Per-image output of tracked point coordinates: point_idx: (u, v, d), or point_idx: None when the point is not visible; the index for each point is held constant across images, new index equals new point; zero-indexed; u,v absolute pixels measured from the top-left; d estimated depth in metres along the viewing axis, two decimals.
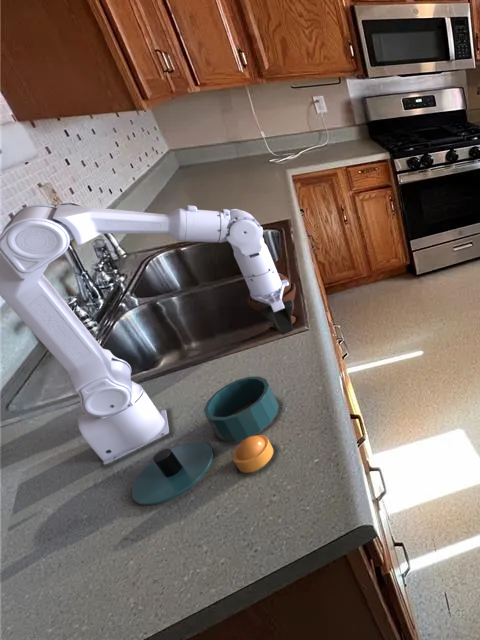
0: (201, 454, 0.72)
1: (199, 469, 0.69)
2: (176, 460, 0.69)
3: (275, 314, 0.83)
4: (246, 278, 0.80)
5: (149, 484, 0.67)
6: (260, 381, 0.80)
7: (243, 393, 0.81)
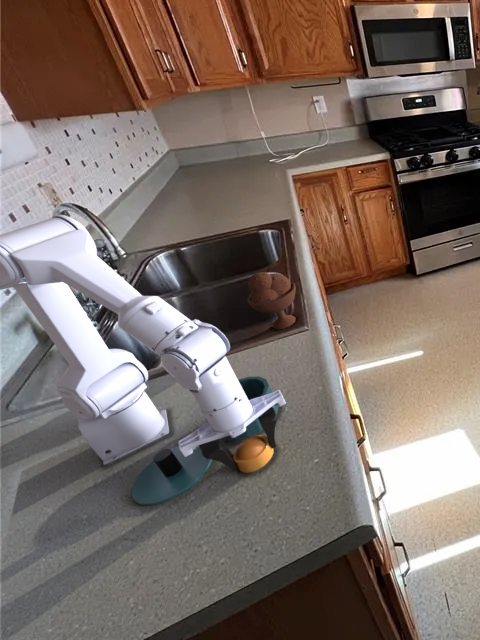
0: (201, 454, 0.72)
1: (199, 469, 0.69)
2: (176, 460, 0.69)
3: None
4: None
5: (149, 484, 0.67)
6: (260, 381, 0.80)
7: None
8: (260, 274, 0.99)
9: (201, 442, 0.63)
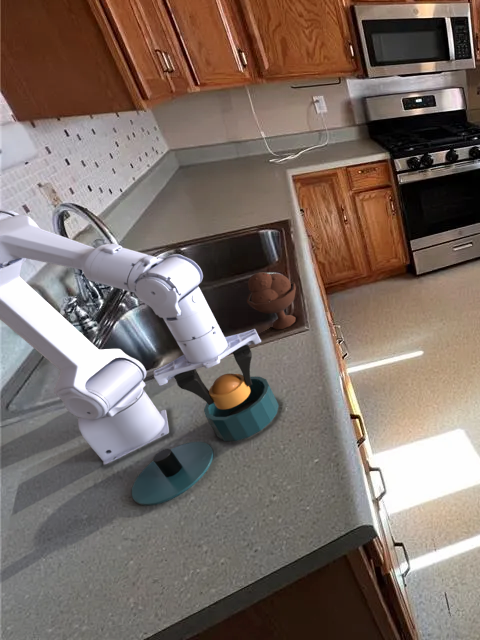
0: (201, 454, 0.72)
1: (199, 469, 0.69)
2: (176, 460, 0.69)
3: None
4: None
5: (149, 484, 0.67)
6: (260, 381, 0.80)
7: None
8: (260, 274, 0.99)
9: (176, 372, 0.64)
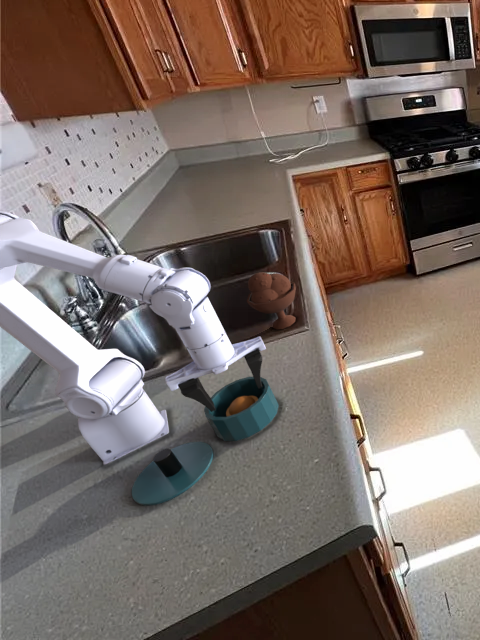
0: (201, 454, 0.72)
1: (199, 469, 0.69)
2: (176, 460, 0.69)
3: None
4: None
5: (149, 484, 0.67)
6: None
7: (243, 393, 0.81)
8: (260, 274, 0.99)
9: (186, 378, 0.68)
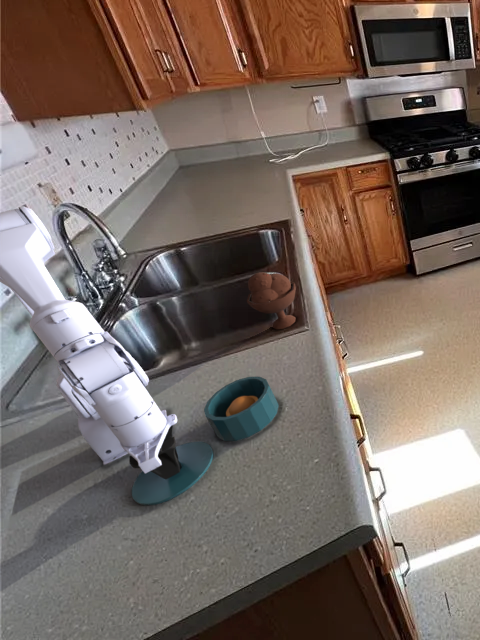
0: (201, 454, 0.72)
1: (199, 469, 0.69)
2: None
3: None
4: (109, 427, 0.61)
5: (149, 484, 0.67)
6: (260, 381, 0.80)
7: (243, 393, 0.81)
8: (260, 274, 0.99)
9: (160, 444, 0.63)
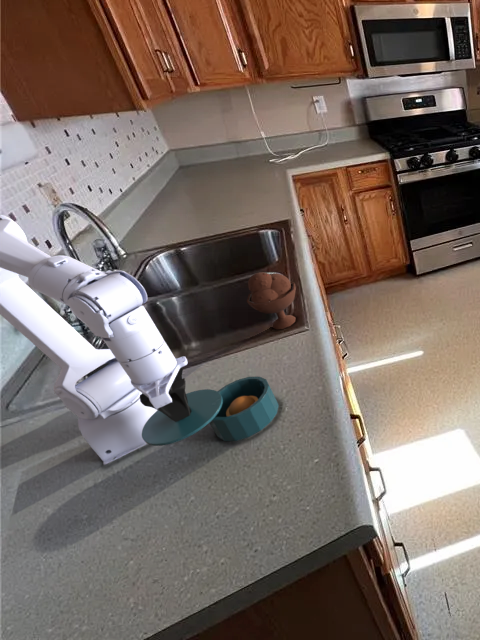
0: (211, 400, 0.71)
1: (209, 413, 0.69)
2: None
3: None
4: (120, 363, 0.60)
5: (158, 426, 0.67)
6: (260, 381, 0.80)
7: (243, 393, 0.81)
8: (260, 274, 0.99)
9: (170, 383, 0.62)
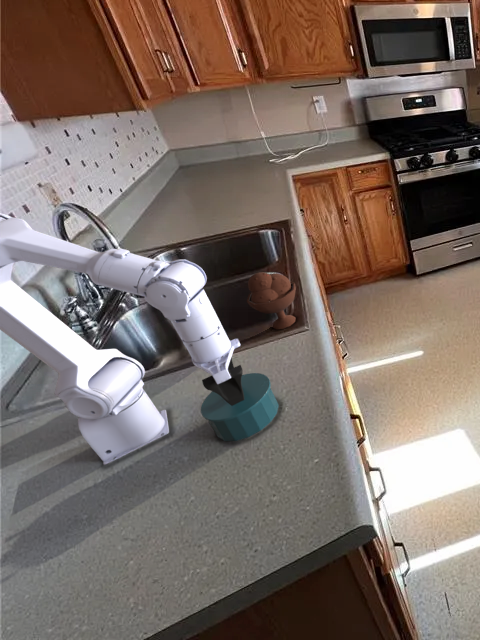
0: (260, 382, 0.78)
1: (260, 393, 0.76)
2: None
3: (221, 383, 0.70)
4: (184, 343, 0.67)
5: (215, 405, 0.74)
6: None
7: None
8: (260, 274, 0.99)
9: (228, 361, 0.69)
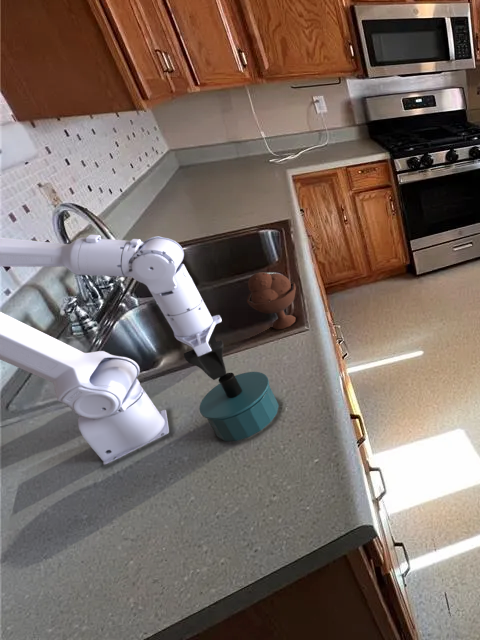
0: (258, 380, 0.79)
1: (258, 391, 0.76)
2: (238, 383, 0.76)
3: (203, 357, 0.72)
4: (166, 317, 0.69)
5: (214, 403, 0.74)
6: None
7: None
8: (260, 274, 0.99)
9: (209, 335, 0.71)
